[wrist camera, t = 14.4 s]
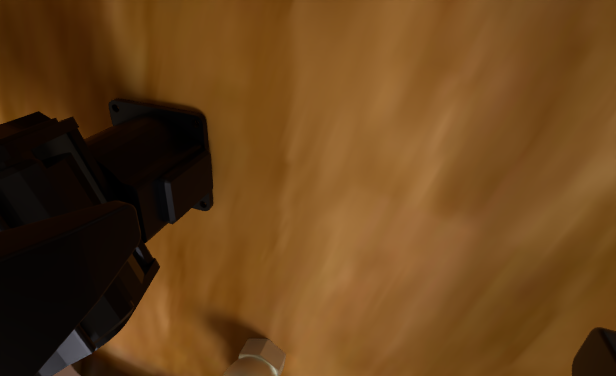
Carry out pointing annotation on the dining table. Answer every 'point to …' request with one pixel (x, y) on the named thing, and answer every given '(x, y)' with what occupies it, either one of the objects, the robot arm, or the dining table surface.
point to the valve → (258, 359)
